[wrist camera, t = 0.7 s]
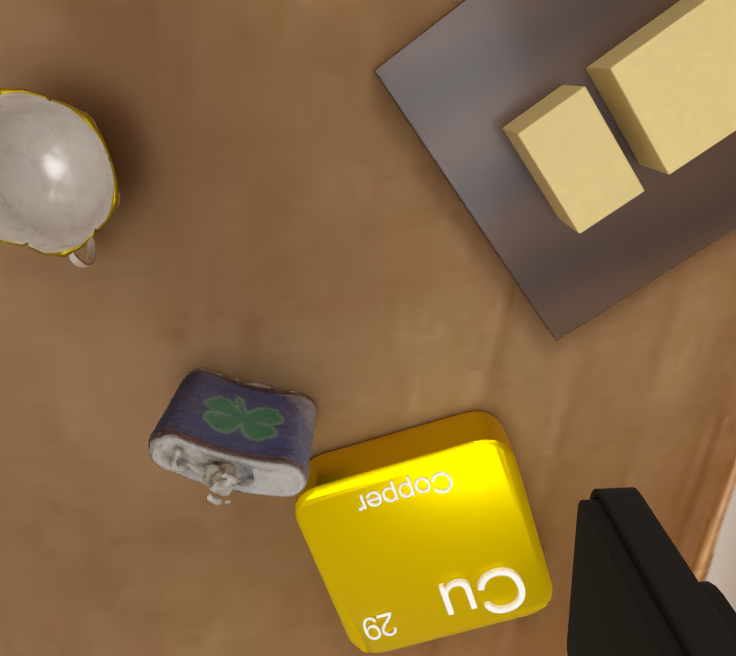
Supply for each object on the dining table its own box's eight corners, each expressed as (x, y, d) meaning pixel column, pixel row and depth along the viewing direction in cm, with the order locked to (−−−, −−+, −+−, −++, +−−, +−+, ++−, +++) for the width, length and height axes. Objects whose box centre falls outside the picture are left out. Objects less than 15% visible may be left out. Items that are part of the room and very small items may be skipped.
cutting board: (373, 70, 39) (374, 70, 37) (655, -148, 35) (667, -157, 34) (550, 332, 45) (556, 341, 43) (806, 170, 41) (822, 173, 40)
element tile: (496, 400, 46) (510, 436, 42) (544, 567, 51) (561, 615, 47) (290, 460, 48) (283, 501, 43) (357, 617, 53) (357, 667, 48)
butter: (584, 68, 37) (609, 68, 34) (699, -15, 36) (739, -25, 32) (639, 165, 39) (669, 175, 35) (750, 90, 38) (793, 92, 34)
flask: (321, 396, 46) (309, 488, 36) (310, 433, 47) (295, 532, 37) (187, 361, 45) (137, 446, 35) (179, 399, 46) (127, 492, 36)
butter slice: (501, 127, 38) (517, 134, 35) (562, 84, 38) (585, 85, 34) (559, 219, 40) (579, 234, 37) (618, 179, 39) (645, 191, 36)
